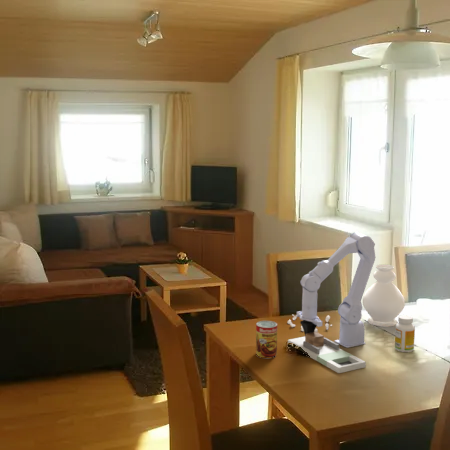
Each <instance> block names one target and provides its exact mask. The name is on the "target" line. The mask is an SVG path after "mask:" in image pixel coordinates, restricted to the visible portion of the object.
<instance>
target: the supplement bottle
mask: <svg viewBox="0 0 450 450" xmlns="http://www.w3.org/2000/svg"><path fill="white" fill-rule="evenodd" d="M413 320H414V318H413V316H412V315H404V314H403V315H398V320H397V324H396V325H395V330H394V331H395V332H394V334H395V335H394V349H395V350H396V351H398V352H402V353H410V352H413V351H414V349H415V330H416V328H415V325H414V324H413V323H414V322H413Z"/></svg>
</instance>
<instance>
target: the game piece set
mask: <svg viewBox="0 0 450 450" xmlns="http://www.w3.org/2000/svg"><path fill="white" fill-rule="evenodd" d="M291 315H292V316H293V317H292V320H293V321H296V319H297V318H298V317H297V314H291ZM317 317H318V318H319V319H320V317H319V316H318V315H317ZM330 319H331V316H330V315H329V314H328V315H326V317H325V322H326V323H325V325H324V326H325V329H326V330H329V327H333V324H332V323H331V324H330V325H329V320H330ZM292 320H291V319H290V318H289V320H287V325H289V326H290V327H291V328H295V327H296V324H294V323H293V322H292ZM300 328H301V329H300V331H301V332H304V330H303V327H302V325H301V326H300ZM314 332H317V333H318V328H315V330H314Z"/></svg>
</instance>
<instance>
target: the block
mask: <svg viewBox="0 0 450 450" xmlns="http://www.w3.org/2000/svg"><path fill="white" fill-rule="evenodd" d="M304 337H305V341H306V342H308V343H310V344H312V345H314V346H316V347H320V346H324V337H325V336H324V335H323V334H321V333H319V332H318V331H317V332H315V331H314V332H313V333H307V334H305V333H304Z"/></svg>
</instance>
